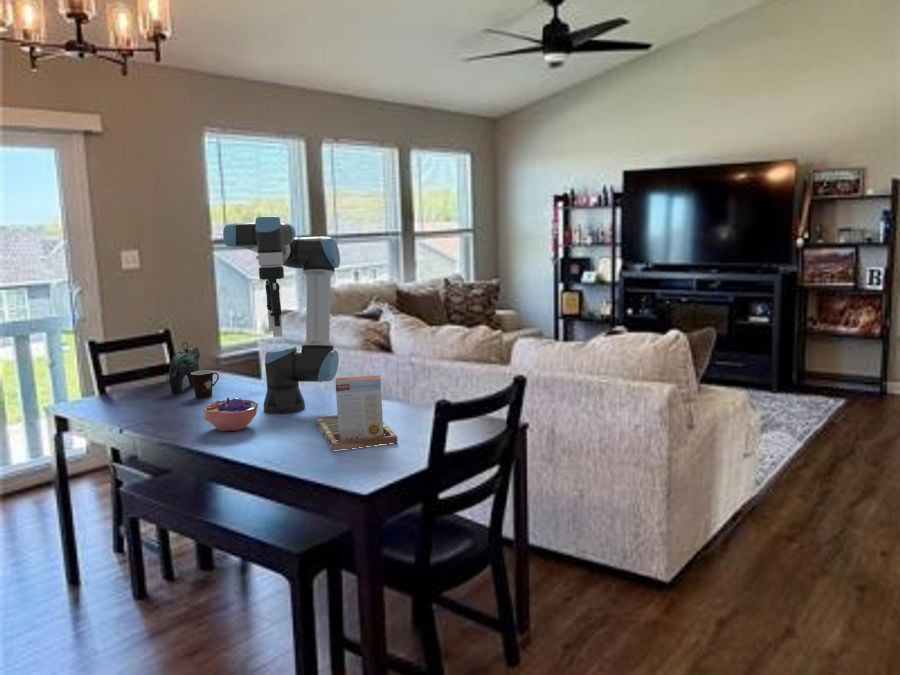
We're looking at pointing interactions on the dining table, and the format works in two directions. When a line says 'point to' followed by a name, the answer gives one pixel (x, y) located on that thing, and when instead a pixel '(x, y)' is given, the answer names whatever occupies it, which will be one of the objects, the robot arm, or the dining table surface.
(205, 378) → the coffee mug
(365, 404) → the cracker box
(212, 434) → the dining table surface
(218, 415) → the cell model
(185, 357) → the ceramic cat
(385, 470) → the dining table surface
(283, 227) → the robot arm
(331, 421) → the rail
